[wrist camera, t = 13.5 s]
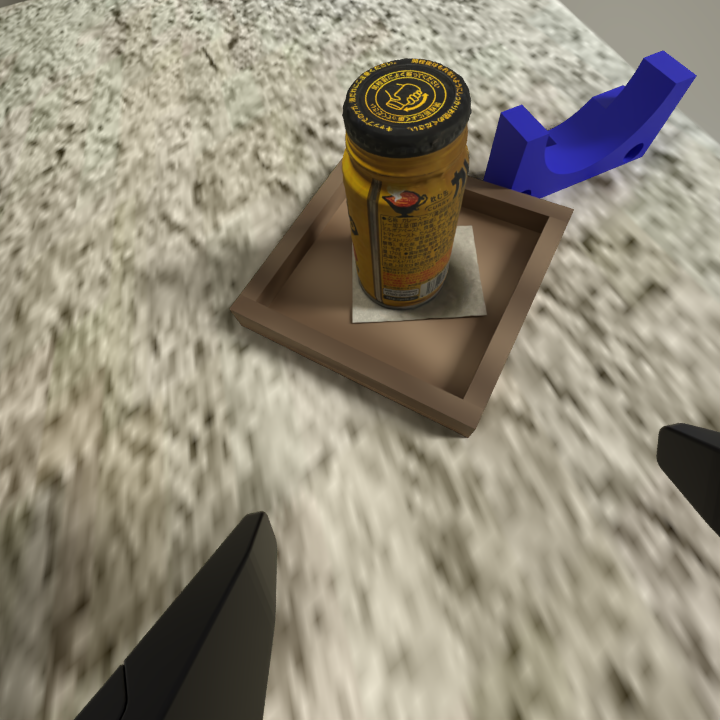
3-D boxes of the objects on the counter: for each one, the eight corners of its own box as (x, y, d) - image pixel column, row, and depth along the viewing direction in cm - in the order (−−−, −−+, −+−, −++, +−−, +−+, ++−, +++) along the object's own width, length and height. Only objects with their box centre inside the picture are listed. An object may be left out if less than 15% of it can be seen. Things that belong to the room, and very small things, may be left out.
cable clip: (603, 123, 32) (647, 38, 26) (641, 158, 30) (696, 75, 24) (471, 175, 31) (488, 98, 25) (502, 215, 29) (527, 142, 23)
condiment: (352, 235, 28) (325, 49, 17) (471, 227, 28) (522, 29, 17) (352, 324, 25) (320, 169, 14) (486, 317, 25) (559, 150, 14)
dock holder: (468, 438, 23) (475, 429, 20) (241, 325, 27) (229, 308, 25) (560, 232, 28) (574, 209, 26) (358, 164, 32) (355, 140, 30)
